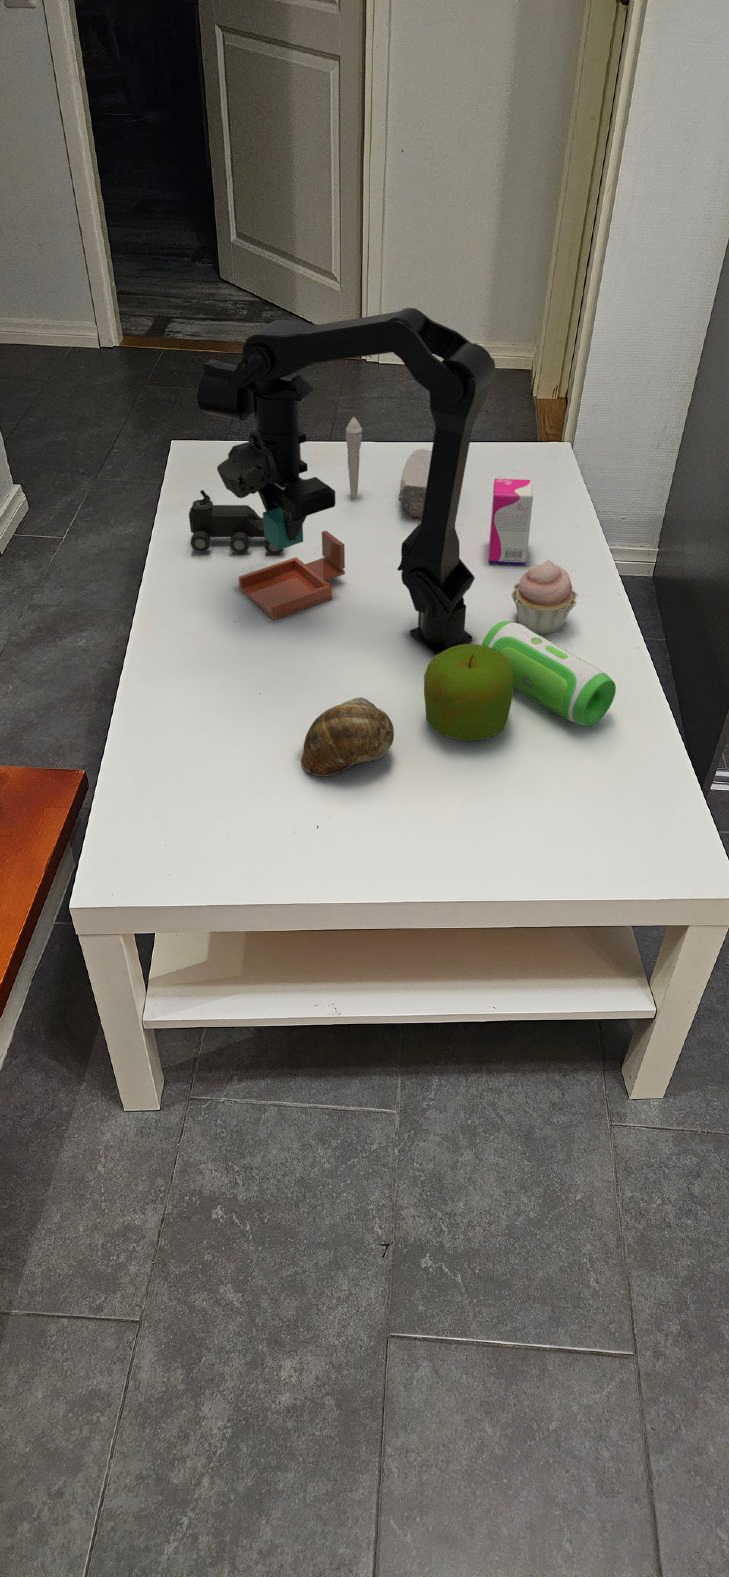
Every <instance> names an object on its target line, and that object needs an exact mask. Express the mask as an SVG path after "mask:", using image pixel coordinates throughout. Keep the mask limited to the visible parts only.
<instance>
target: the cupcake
mask: <svg viewBox="0 0 729 1577" xmlns="http://www.w3.org/2000/svg"><path fill="white" fill-rule="evenodd" d="M512 586H513V589H514V590H512V592H511V593H510V595H511V597H512V600H513V602H514V604H515V608H516V613H517V619H518V620H517V621H518V624H521V625H523V626H525V627H527V628H528V629H530V630H531V631H533V632H534V633H536V634H538V635H551V634H555V633H556V632H558V631H560V630H561V629H562V628H563V626H564V624H565V623H566V620H567V618H568V616H569V613H570V612H571V611H572V609H573V608H574V607H575V606H576V605H577V600H576V599H577V598H578V596H579V594H578V593H577V591H575V590H573V585H572V580H571V578H570V575H569V573H568V571H567V570H566V569H564V568H563V567H562V566H559V565H556V564H555V563H554V562H552V561H551V560H550V559H546V560H545V561H544V562H543V563H540V564H535V565H532V566H531V567H529V569H528V570H527V572H525V573H524V574H523V575H521V577H520V579H519V582H518V583H515V584H514V583H513V585H512Z"/></svg>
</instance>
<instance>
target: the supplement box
mask: <svg viewBox="0 0 729 1577" xmlns="http://www.w3.org/2000/svg"><path fill="white" fill-rule="evenodd" d="M532 481H533V480H532V479H521V478H520V479H519V478H518V479H517V478H494V480H493V492H492V504H491V517H490V518H491V519H490V528H489V529H490V530H489V542H488V564H489V565H505V566H506V565H507V566H508V565H510V566H511V565H512V566H526V565H527V557H528V548H529V541H530V540H529V539H530V529H531V519H532V509H533V500H534V494H533V493H534V492H533V482H532Z"/></svg>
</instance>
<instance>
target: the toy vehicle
mask: <svg viewBox="0 0 729 1577" xmlns="http://www.w3.org/2000/svg"><path fill="white" fill-rule="evenodd" d="M199 493H200V495H202V497H203V498H202V499H197V500H193V501H192V505H191V507H190V509H189V511H188V519H189V528H190V532H191V533H192V535H191V538H190V546H191V548H192V549H193V550H194V551H196V552H198V553H205V552H207V551H208V550H209V549H210V546H211V542H212V538H230V539H229V548H230V549H231V551H232V552H234V553H235V554H244V553H246V552H247V551H248V550H249V548H250V543H251V542H250V538H265V537H264V523H263V517H261V516H259V514H258V513H257V512H256V511H255V509H253V508H252V507H251V506H249V504H243V505H242V504H214V502H213V501H212V500H211V497H210V495H209V494H207V493H206V492H205V490H204V489H201V490H200V491H199ZM264 549H265V552H267V553H268V554H270V555H273V556H277V555H280V554H282V553H283V551H284V549H285V548H283V549H280V550H279V549H277V548H276V547H275V546H274V545H272V544H271V543H270V542H269V541H267V540H266V539H265V541H264Z"/></svg>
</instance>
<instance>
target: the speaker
mask: <svg viewBox="0 0 729 1577" xmlns="http://www.w3.org/2000/svg"><path fill="white" fill-rule="evenodd" d="M481 645H484V646H488V647H491V648H493V649H496V650H498V651H499V652H500V653H502V654H503V655H504V656H505V657H506V658H507V659H508V660H509V661H510V663H511V664H512V670H513V682H514V689H516V690H517V691H519V692H520V693H522V694H523V695H525V696H527V697H528V698H530V699H531V700H532V701H534V702H536V703H538V704H539V705H541V706H543V707H544V708H546V709H548V711H551V712H552V713H555V714H556V715H559V716H562V717H564V718H565V719H567V720H568V721H570V722H573V723H575V724H579V725H582V726H587V727H589V726H594V725H595V724H597V723H598V722H599V721H600V720H602V718H603V717H604V716H605V715H606V713H608V711H609V710H610V708H611V706H612V704H613V701H614V700H615V696H616V691H617V687H616V683H615V681H614V680H613V679H612V678H611V677H610V675H608V674H607V673H606V672H604V671H603V670H602V669H601V668H599V667H597V666H596V665H593V664H591V663H589V662H587V661H585V660H583V659H581V658H580V657H578V656H577V655H574V654H573V653H571V652H569V651H568V650H566V649H564V648H562V647H561V646H560V645H557V644H555V643H553V642H552V641H550V640H548V639H546V638H545V637H543V636H541V634H536V633H534V632H533V631H531V630H530V629H528V628H527V627H525V626H523V625H521V624H520V623H519V622H513V621H510V620H504V621H500V622H497V624H495V625H493V626H492V628H490V629H489V631H488V632H487V634H486V635H485V637H484V639H483V641H482V642H481Z"/></svg>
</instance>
